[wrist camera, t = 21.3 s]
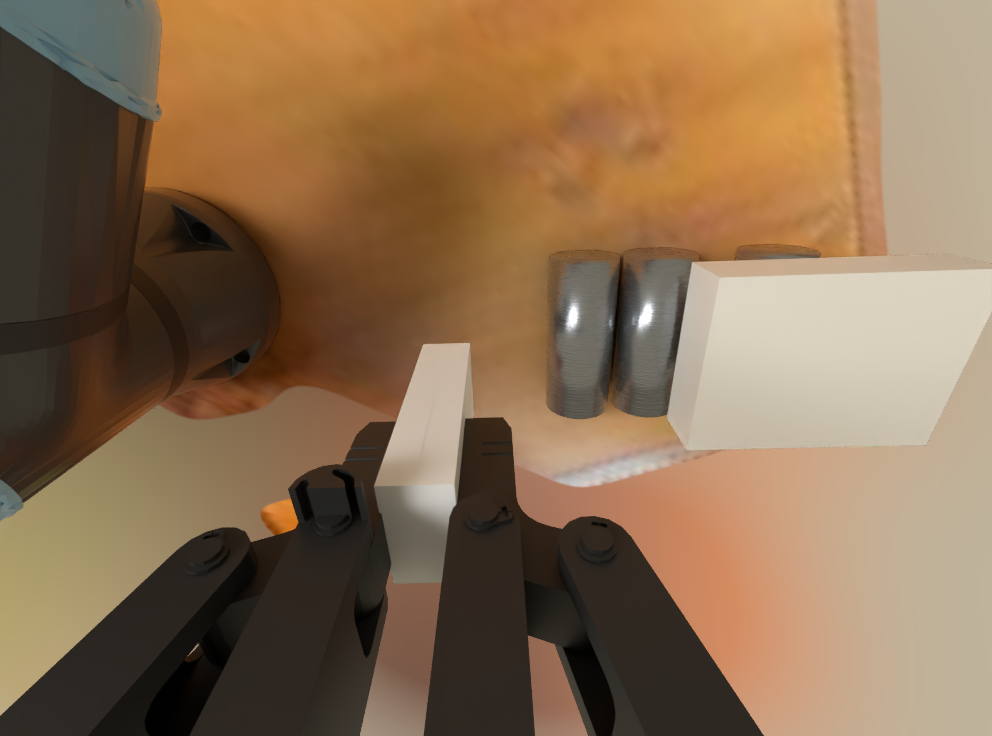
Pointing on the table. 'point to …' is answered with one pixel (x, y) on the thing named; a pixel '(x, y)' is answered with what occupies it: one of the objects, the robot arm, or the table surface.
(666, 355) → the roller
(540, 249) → the table surface
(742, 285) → the slab
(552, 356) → the cylinder
